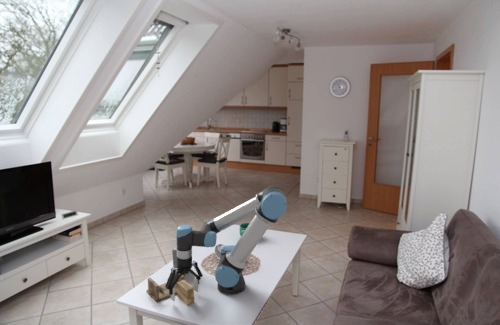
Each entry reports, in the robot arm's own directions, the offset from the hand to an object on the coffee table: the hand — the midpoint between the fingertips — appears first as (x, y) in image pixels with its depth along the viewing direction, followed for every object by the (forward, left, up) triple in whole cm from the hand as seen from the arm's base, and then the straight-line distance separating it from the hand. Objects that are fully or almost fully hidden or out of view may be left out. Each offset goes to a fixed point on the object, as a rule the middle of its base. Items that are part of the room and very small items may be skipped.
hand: (184, 295), depth 172 cm
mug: (+39, -74, -3) cm, 84 cm away
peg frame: (+13, +4, -2) cm, 13 cm away
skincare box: (+26, -12, -3) cm, 29 cm away
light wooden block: (0, 0, -2) cm, 2 cm away
